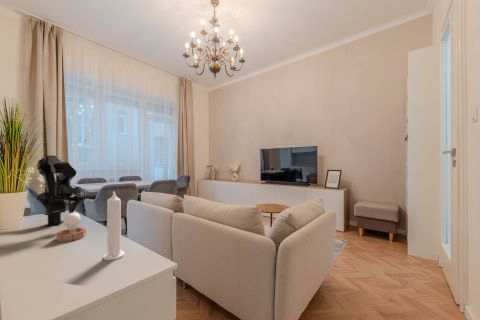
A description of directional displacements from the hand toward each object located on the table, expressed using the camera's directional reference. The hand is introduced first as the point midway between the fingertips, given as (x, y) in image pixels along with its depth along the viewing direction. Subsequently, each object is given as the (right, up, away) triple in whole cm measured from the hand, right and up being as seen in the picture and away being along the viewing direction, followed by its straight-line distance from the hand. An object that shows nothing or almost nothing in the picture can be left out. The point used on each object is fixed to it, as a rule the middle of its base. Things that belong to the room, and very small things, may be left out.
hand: (61, 215), depth 108 cm
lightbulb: (+8, -9, -4) cm, 13 cm away
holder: (+8, -10, -4) cm, 13 cm away
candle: (+39, -10, -23) cm, 46 cm away
